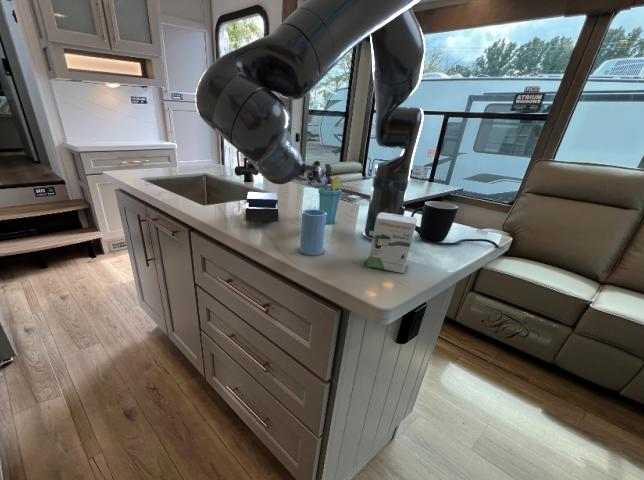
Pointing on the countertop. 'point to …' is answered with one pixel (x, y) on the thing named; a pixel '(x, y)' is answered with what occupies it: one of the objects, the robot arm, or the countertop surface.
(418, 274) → the countertop surface
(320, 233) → the light blue hollow cylinder
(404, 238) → the ink box
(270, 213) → the storage box
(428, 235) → the mug
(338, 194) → the cup
